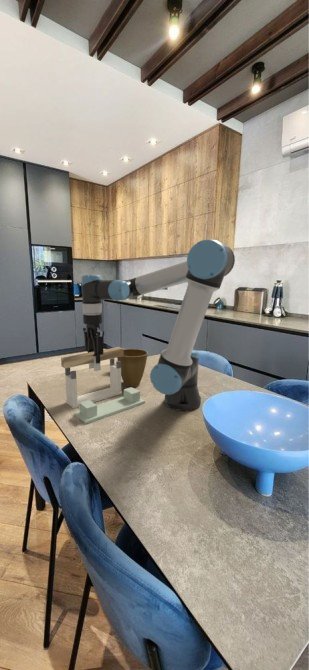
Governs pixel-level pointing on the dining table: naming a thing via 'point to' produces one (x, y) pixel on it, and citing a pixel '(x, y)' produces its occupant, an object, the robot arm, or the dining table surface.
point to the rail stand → (97, 395)
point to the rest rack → (108, 406)
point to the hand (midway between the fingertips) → (94, 369)
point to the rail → (90, 357)
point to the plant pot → (133, 366)
